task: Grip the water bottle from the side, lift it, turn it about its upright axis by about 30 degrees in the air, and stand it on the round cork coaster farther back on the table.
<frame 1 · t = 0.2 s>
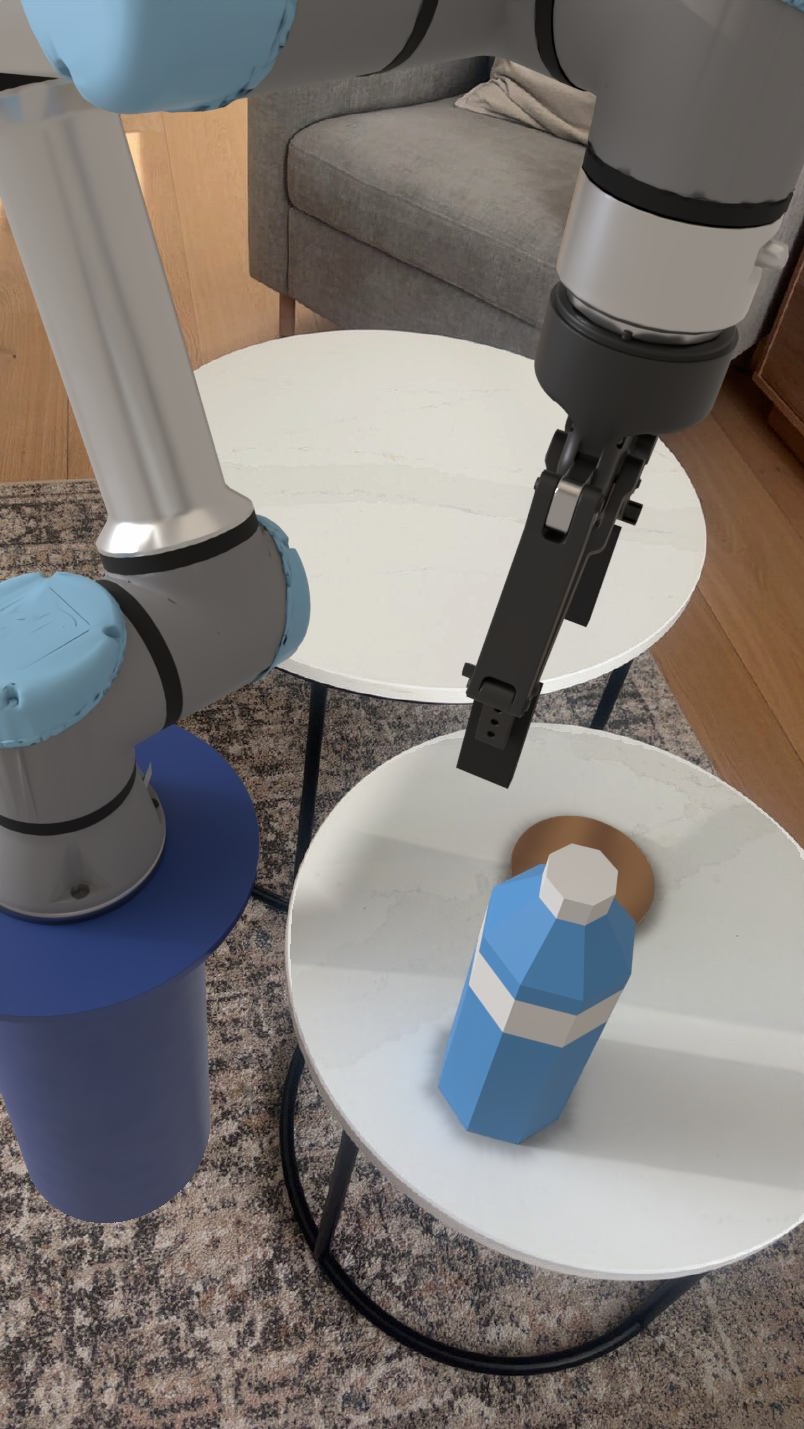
hand: (528, 688, 57), 33 cm above the table, tool pointing down, fingers open, 13 cm apart
coaster: (580, 879, 91), on the table
water bottle: (501, 1080, 78), on the table
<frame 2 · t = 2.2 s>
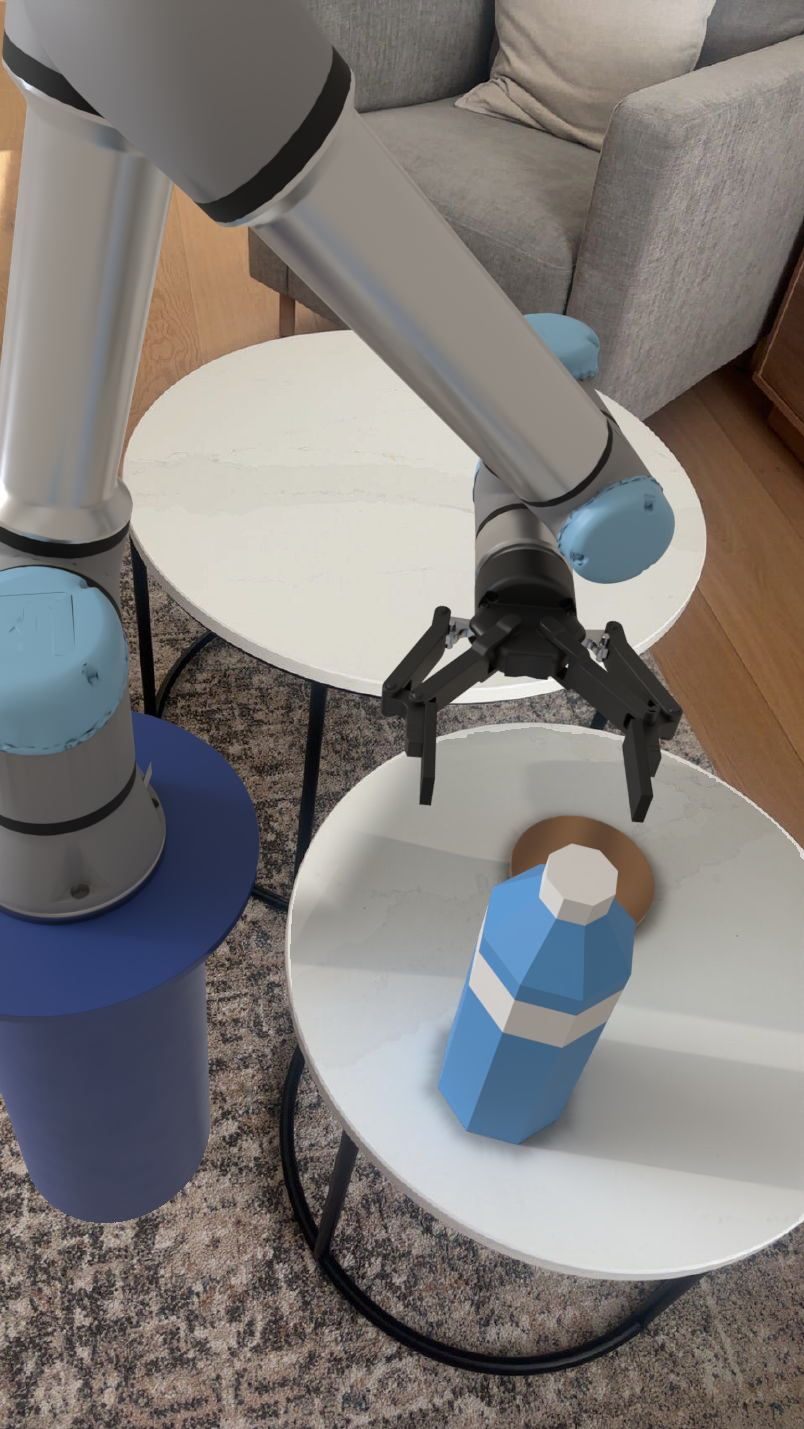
hand: (535, 801, 68), 21 cm above the table, tool horizontal, fingers open, 13 cm apart
nothing on the table moved.
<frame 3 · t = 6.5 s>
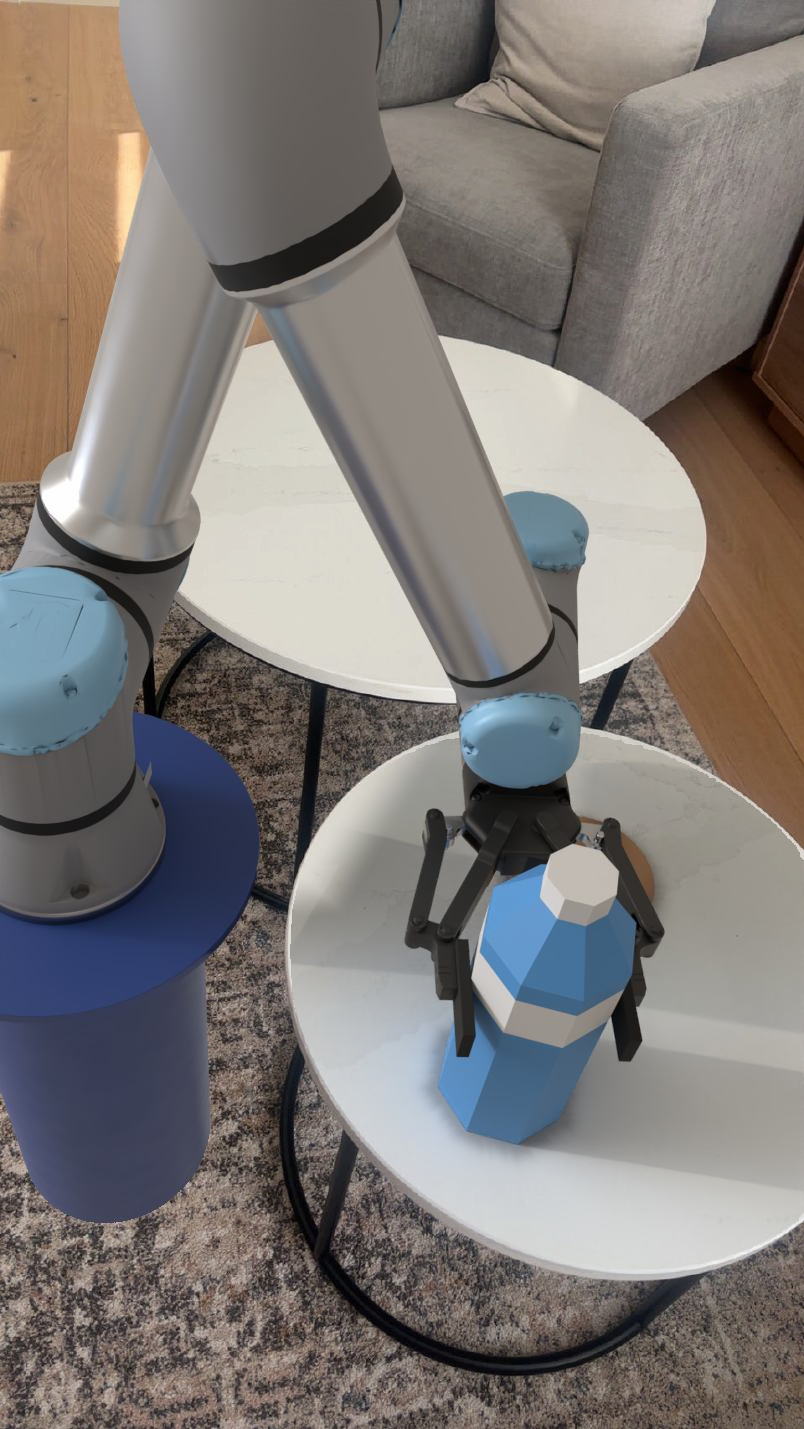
hand: (548, 1048, 65), 13 cm above the table, tool horizontal, fingers closed on water bottle, 9 cm apart
water bottle: (501, 1080, 78), on the table, touching gripper
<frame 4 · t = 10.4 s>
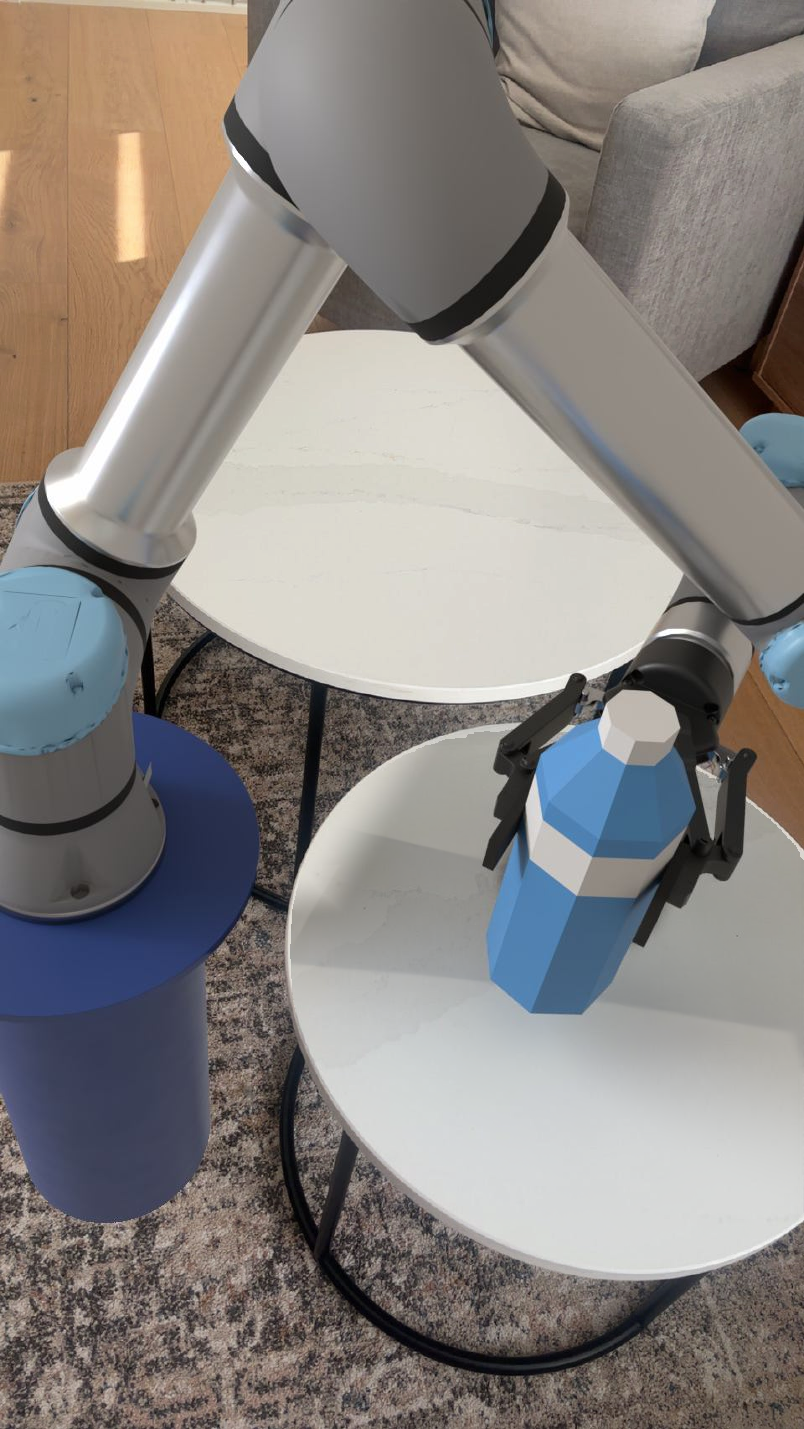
hand: (566, 892, 65), 20 cm above the table, tool horizontal, fingers closed on water bottle, 9 cm apart
water bottle: (547, 959, 77), point 6 cm above the table, touching gripper
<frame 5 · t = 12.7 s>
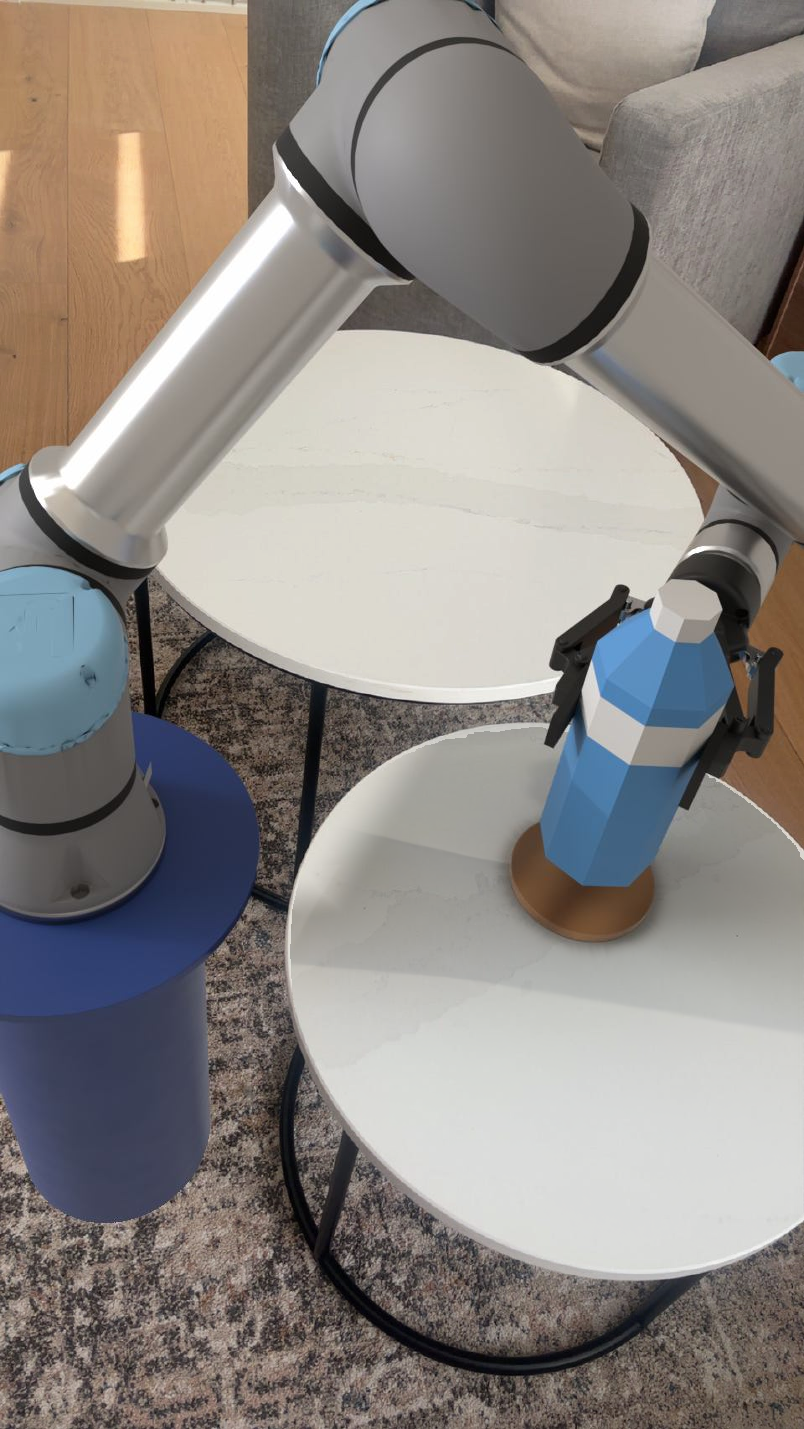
hand: (619, 763, 74), 19 cm above the table, tool horizontal, fingers closed on water bottle, 9 cm apart
water bottle: (595, 842, 86), point 6 cm above the table, touching gripper
when the fingers open (14 cm above the table, at t = 14.5 s): water bottle stays where it is, resting on coaster.
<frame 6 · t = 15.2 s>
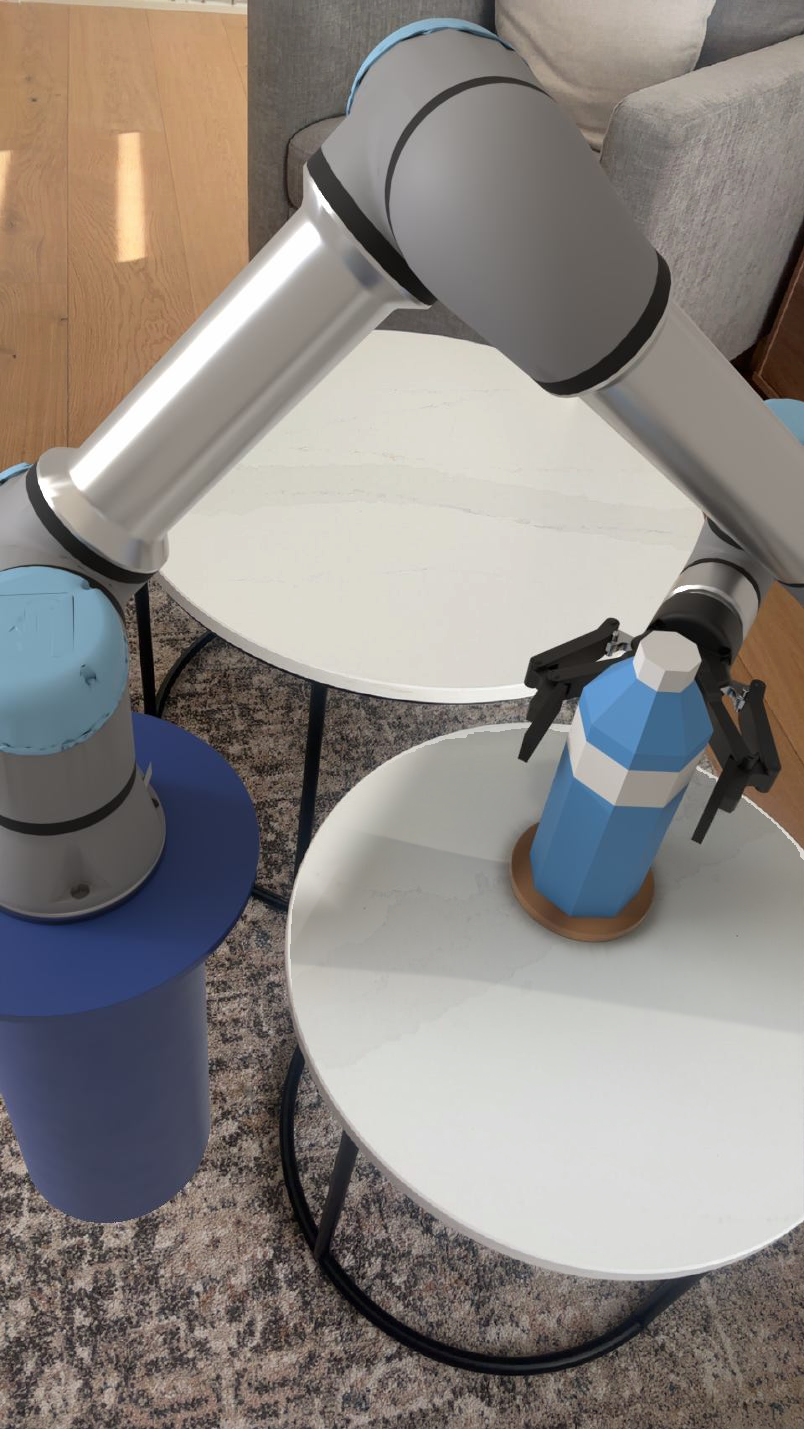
hand: (611, 789, 78), 15 cm above the table, tool horizontal, fingers open, 13 cm apart
water bottle: (582, 874, 90), point 1 cm above the table, touching coaster
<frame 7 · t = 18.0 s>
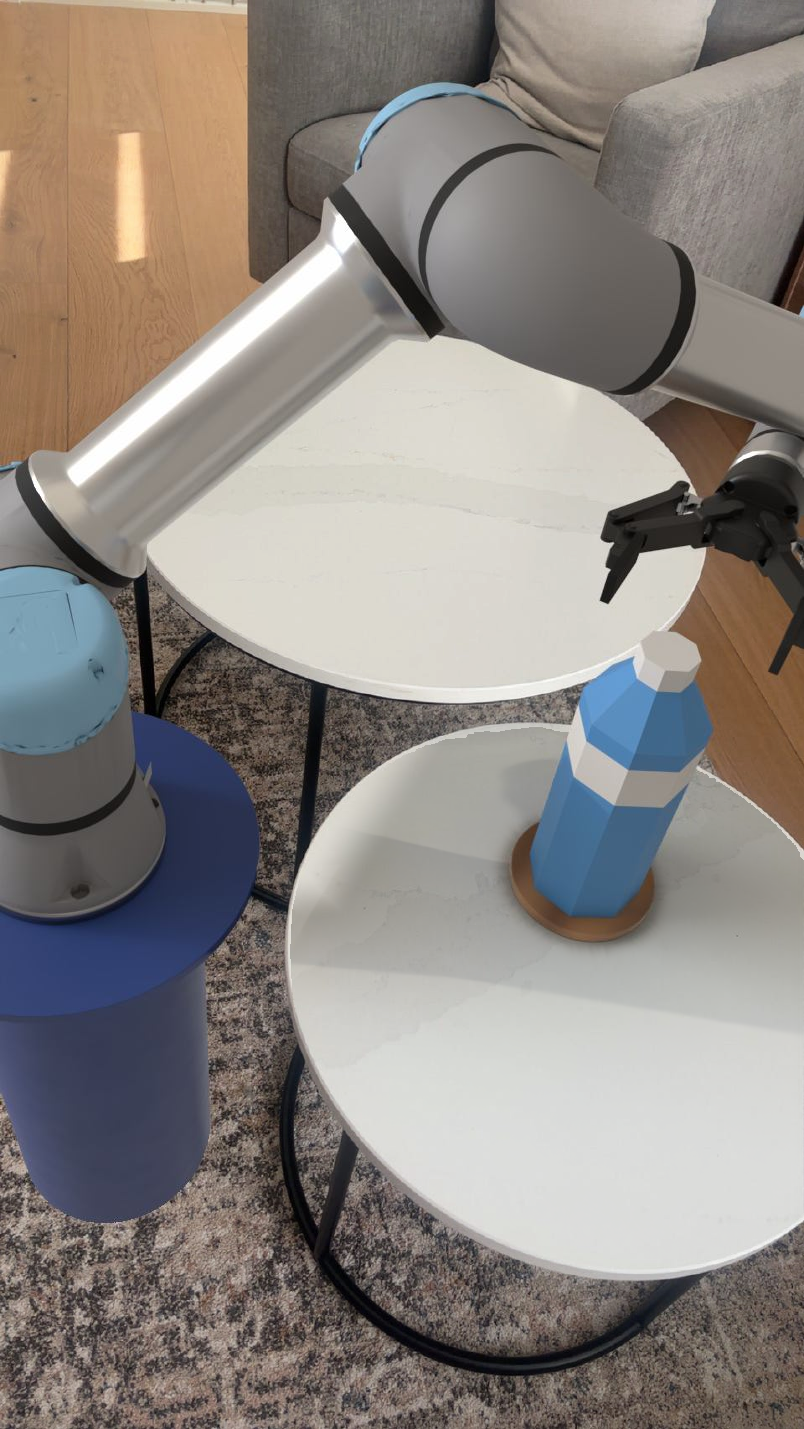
hand: (691, 624, 82), 21 cm above the table, tool horizontal, fingers open, 13 cm apart
nothing on the table moved.
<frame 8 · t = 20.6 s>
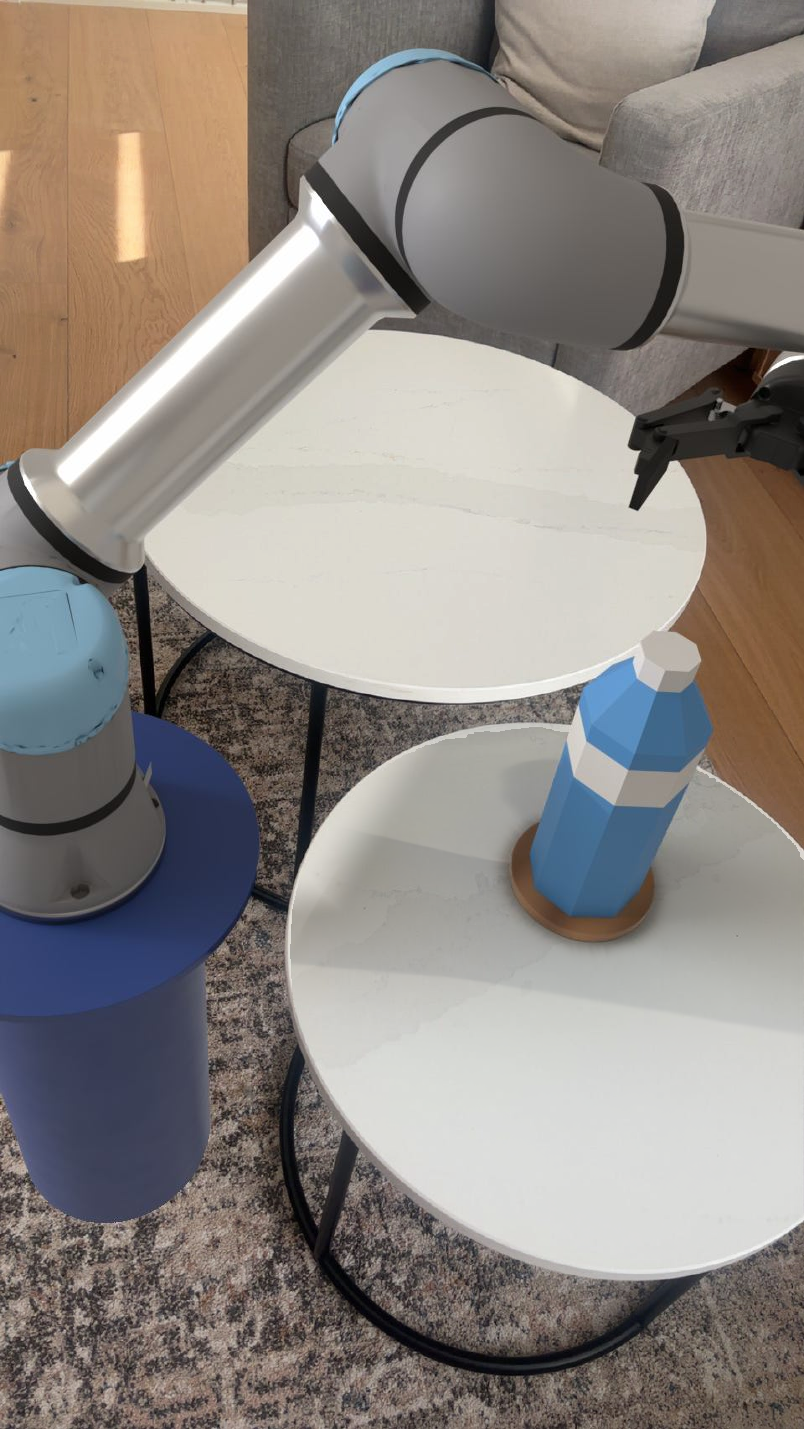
hand: (729, 529, 75), 30 cm above the table, tool horizontal, fingers open, 13 cm apart
nothing on the table moved.
at the end: water bottle inside the target area on the coaster (0.0 cm from its centre), point 0.8 cm above the coaster's base; water bottle tilted 0°; the gripper is holding nothing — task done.
